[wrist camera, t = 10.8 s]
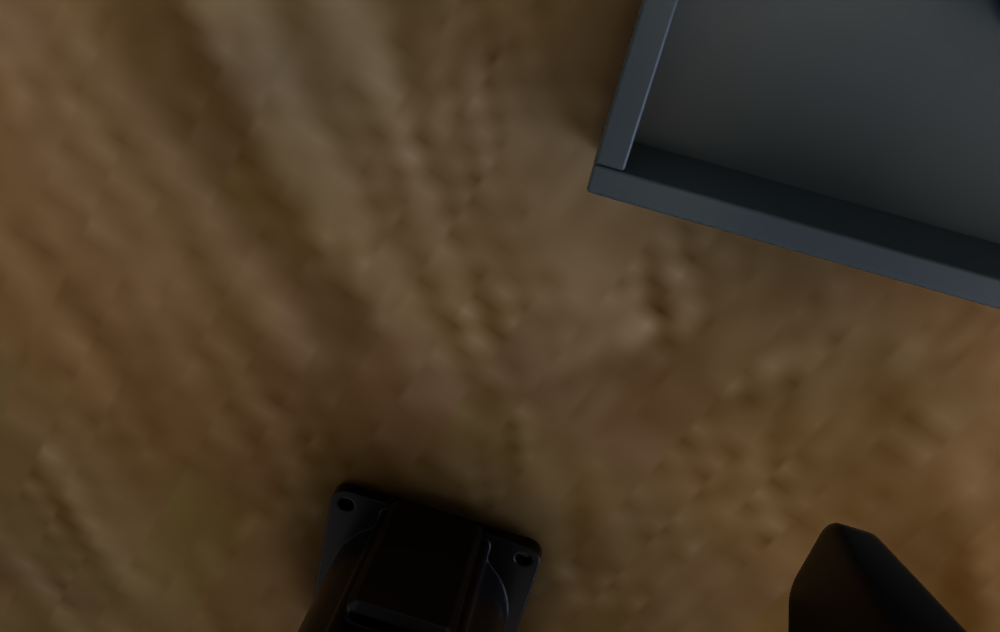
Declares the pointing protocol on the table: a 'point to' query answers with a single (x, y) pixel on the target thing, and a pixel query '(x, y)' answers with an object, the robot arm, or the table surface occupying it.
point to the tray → (820, 130)
